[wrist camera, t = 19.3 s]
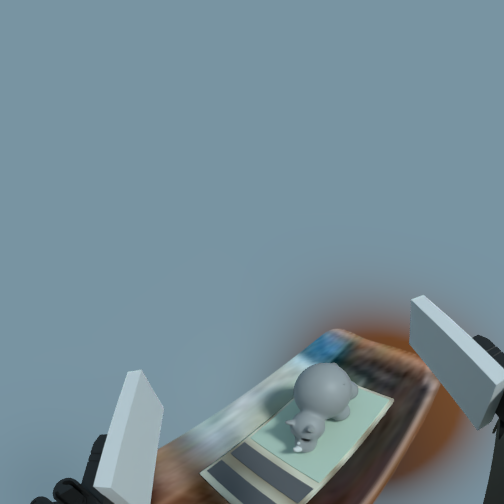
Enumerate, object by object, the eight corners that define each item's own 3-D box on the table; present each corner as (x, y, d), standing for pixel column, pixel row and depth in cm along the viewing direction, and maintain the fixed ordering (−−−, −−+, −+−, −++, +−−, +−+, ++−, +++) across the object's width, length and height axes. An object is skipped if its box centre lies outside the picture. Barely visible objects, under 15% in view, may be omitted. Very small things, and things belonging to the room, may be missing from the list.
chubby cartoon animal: (284, 448, 36) (254, 433, 31) (322, 375, 42) (300, 347, 37) (331, 466, 31) (308, 455, 27) (367, 385, 37) (353, 358, 33)
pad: (319, 483, 28) (319, 482, 27) (250, 438, 37) (250, 437, 37) (389, 400, 36) (389, 399, 36) (321, 374, 45) (321, 373, 45)
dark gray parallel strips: (271, 526, 23) (271, 526, 23) (207, 471, 32) (206, 470, 32) (313, 489, 27) (313, 488, 27) (244, 442, 36) (244, 441, 36)
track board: (269, 535, 23) (268, 534, 22) (200, 475, 32) (199, 473, 32) (393, 401, 36) (394, 398, 36) (321, 373, 46) (321, 371, 46)
